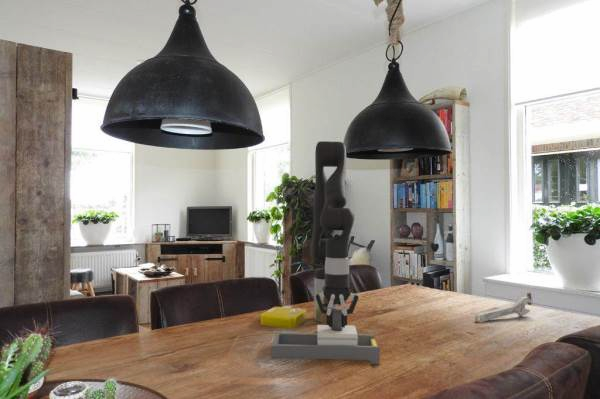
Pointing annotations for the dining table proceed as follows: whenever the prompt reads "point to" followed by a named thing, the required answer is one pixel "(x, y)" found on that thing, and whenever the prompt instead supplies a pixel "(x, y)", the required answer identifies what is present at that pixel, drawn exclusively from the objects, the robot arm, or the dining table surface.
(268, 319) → the element tile
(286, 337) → the bay
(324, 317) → the brown wooden tall piece
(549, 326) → the dining table surface
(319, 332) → the white plate with knob
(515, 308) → the wrench
